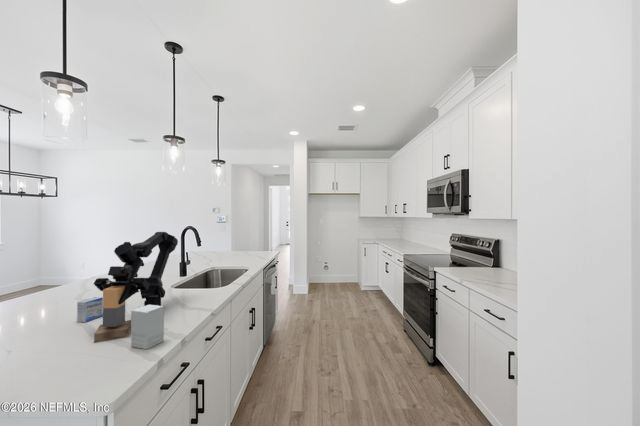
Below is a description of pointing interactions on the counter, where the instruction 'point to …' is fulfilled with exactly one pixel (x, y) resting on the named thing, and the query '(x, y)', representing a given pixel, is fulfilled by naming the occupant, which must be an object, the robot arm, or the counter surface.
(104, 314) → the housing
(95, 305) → the medicine box
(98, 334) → the walnut stand
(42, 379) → the counter surface
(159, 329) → the supplement box
